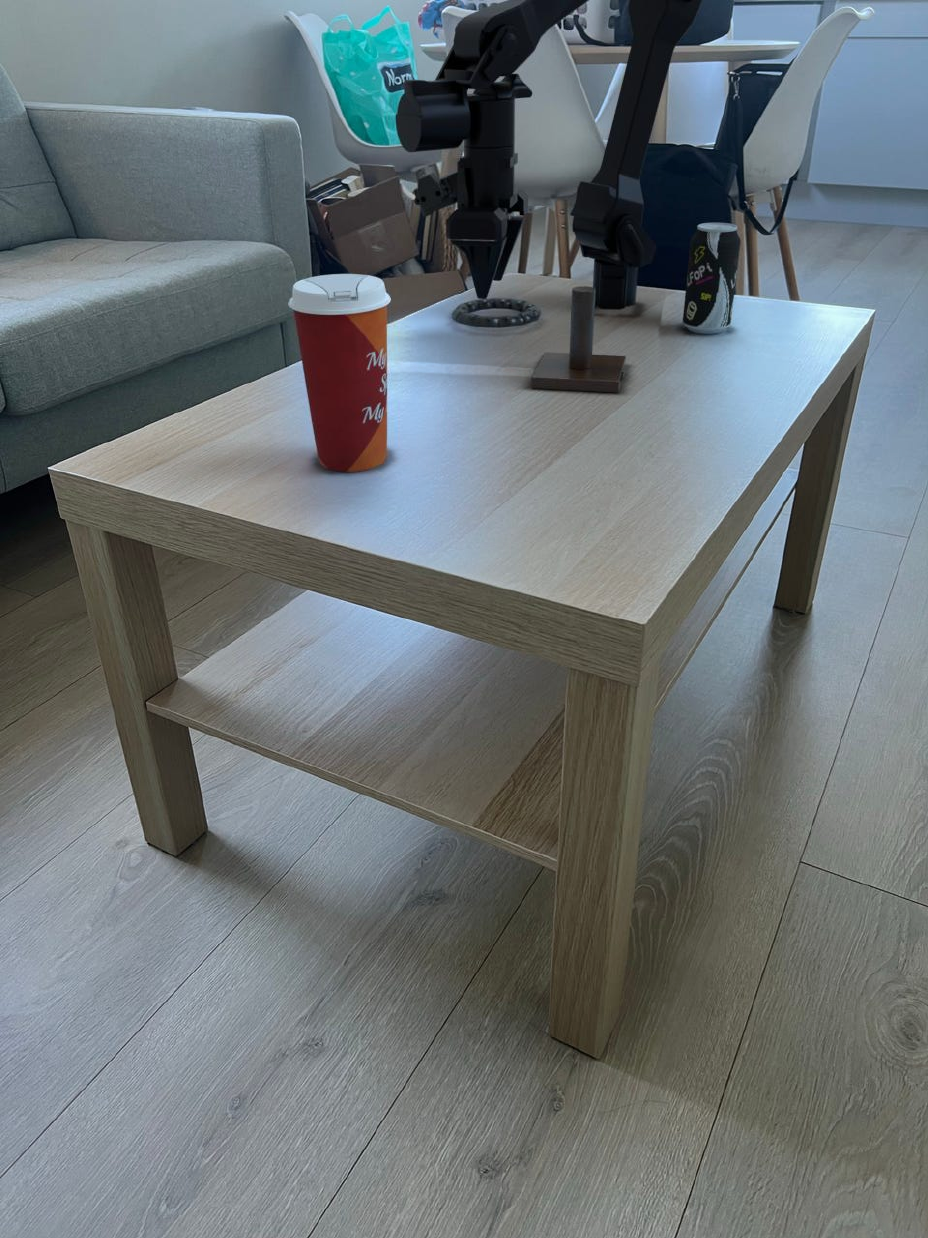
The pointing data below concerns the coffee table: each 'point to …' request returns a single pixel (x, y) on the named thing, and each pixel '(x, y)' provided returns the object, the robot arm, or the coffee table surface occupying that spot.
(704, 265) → the beverage can
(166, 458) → the coffee table surface
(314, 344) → the coffee cup
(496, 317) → the ring
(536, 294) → the coffee table surface
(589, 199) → the robot arm
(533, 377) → the peg stand
